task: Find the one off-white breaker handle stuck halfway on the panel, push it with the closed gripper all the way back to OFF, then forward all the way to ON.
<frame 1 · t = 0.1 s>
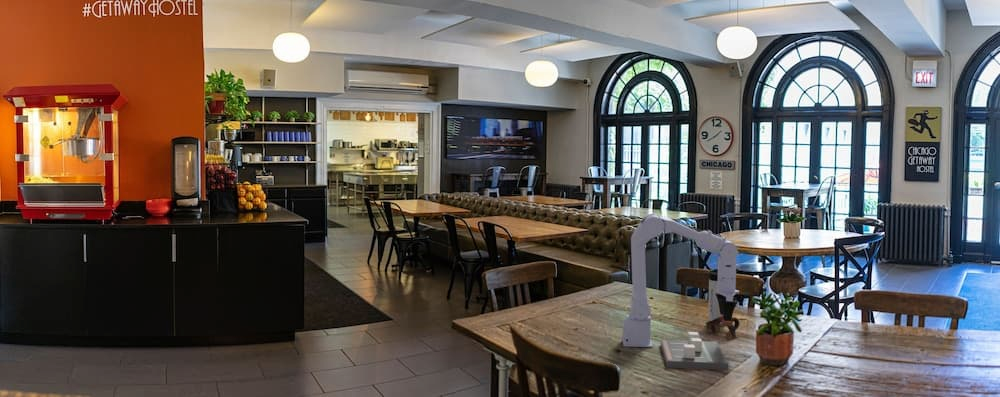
hand: (725, 317, 233), 10 cm above the table, tool pointing down, fingers open, 7 cm apart
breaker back: (693, 338, 230), point 4 cm above the table, slide at 6.0 cm
travel mug: (716, 324, 263), on the table
pottery mug: (723, 336, 248), on the table
panel: (692, 356, 224), on the table
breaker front: (689, 351, 217), point 4 cm above the table, slide at 3.0 cm
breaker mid: (696, 344, 223), point 4 cm above the table, slide at 6.0 cm
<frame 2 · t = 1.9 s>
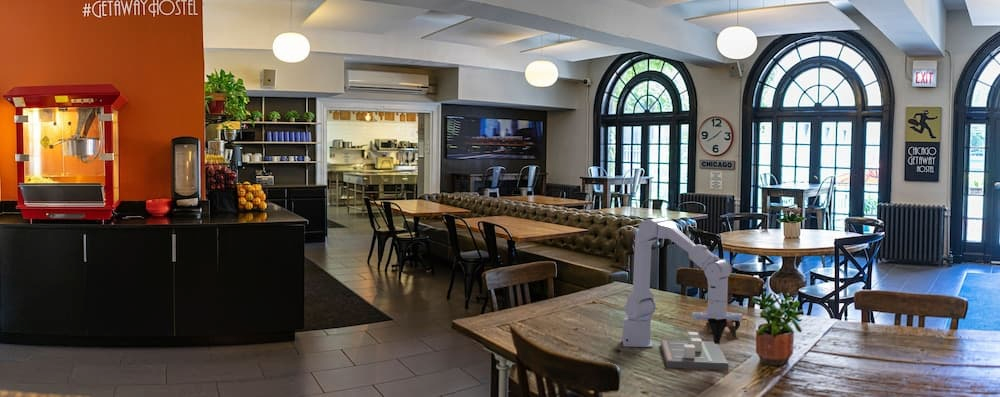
hand: (716, 343, 216), 7 cm above the table, tool pointing down, fingers closed
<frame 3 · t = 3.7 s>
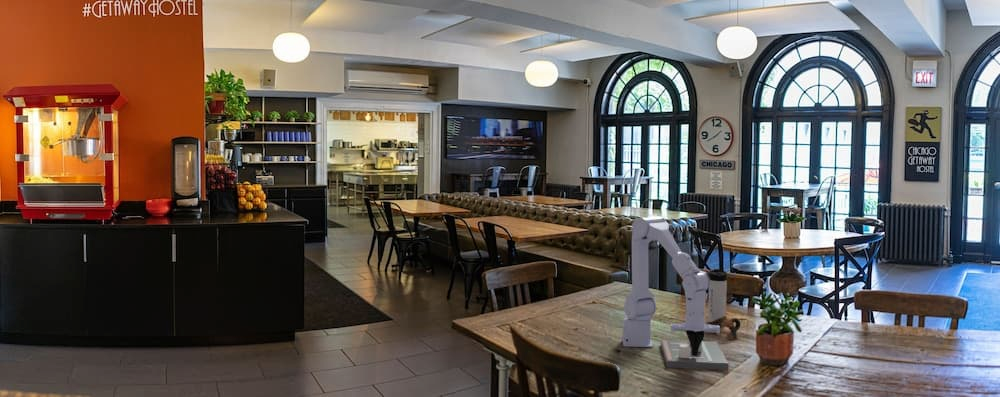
hand: (694, 354, 217), 3 cm above the table, tool pointing down, fingers closed
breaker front: (684, 351, 217), point 4 cm above the table, slide at 1.6 cm, touching gripper
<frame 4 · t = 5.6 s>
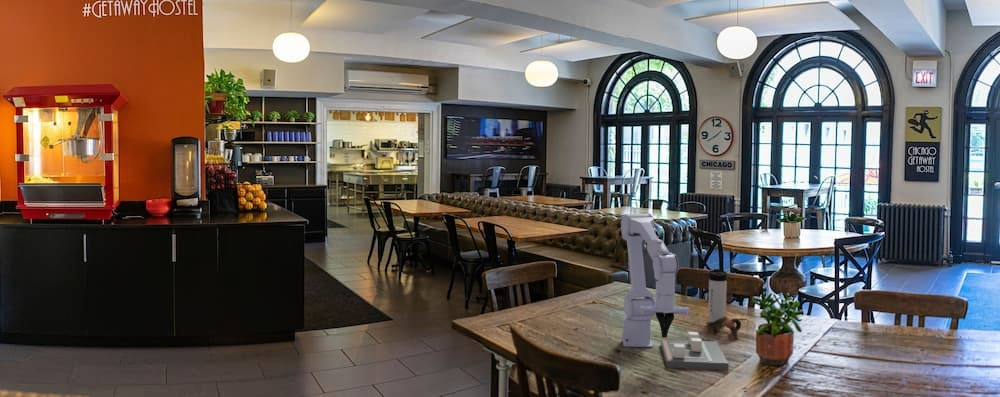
hand: (664, 336, 218), 8 cm above the table, tool pointing down, fingers closed
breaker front: (679, 350, 217), point 4 cm above the table, slide at -0.1 cm
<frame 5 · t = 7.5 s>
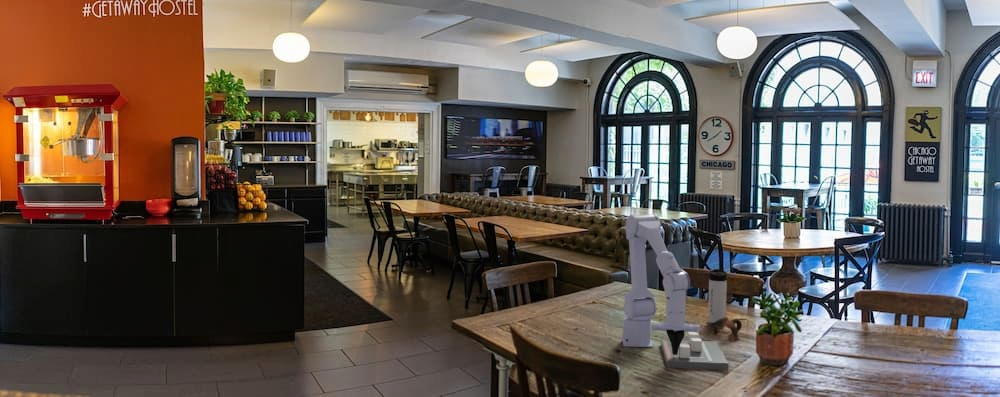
hand: (674, 353, 218), 3 cm above the table, tool pointing down, fingers closed
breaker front: (684, 351, 217), point 4 cm above the table, slide at 1.5 cm, touching gripper
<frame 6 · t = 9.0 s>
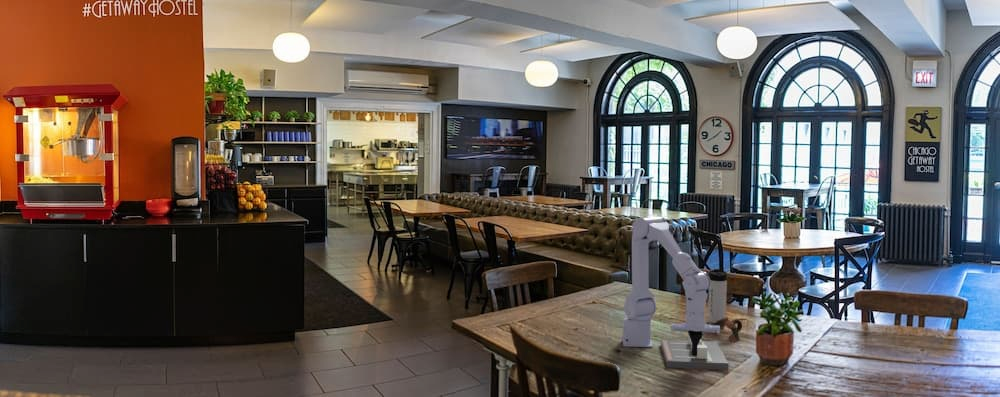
hand: (694, 354, 217), 3 cm above the table, tool pointing down, fingers closed, pressing on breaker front
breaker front: (701, 351, 217), point 4 cm above the table, slide at 6.7 cm, touching gripper
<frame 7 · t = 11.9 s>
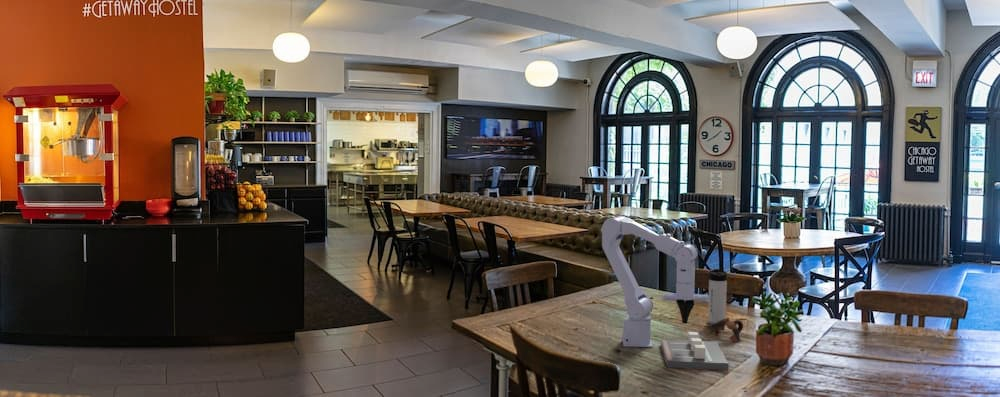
hand: (684, 322, 229), 9 cm above the table, tool pointing down, fingers closed
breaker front: (699, 351, 217), point 4 cm above the table, slide at 6.1 cm
at the end: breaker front slide at 6.1 cm; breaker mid slide at 6.0 cm; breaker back slide at 6.0 cm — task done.
